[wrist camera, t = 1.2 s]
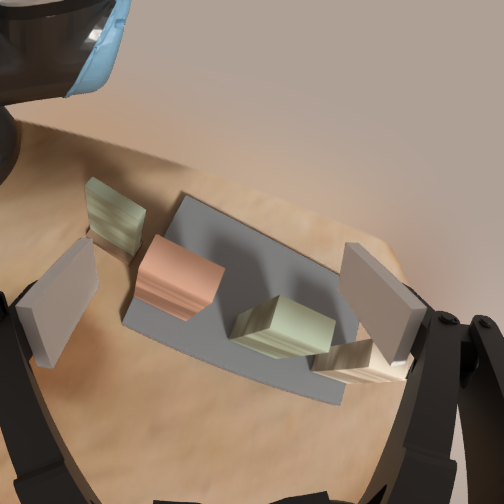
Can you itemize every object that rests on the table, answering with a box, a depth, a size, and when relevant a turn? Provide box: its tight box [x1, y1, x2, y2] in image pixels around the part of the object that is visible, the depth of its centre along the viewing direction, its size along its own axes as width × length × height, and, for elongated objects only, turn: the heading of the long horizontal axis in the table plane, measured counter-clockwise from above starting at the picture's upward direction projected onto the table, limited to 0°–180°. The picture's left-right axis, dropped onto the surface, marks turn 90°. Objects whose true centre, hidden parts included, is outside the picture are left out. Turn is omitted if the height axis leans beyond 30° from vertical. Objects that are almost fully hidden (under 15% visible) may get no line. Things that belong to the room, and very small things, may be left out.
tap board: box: [122, 195, 359, 405], centre depth 37 cm, size 17×28×2 cm, turn 71°
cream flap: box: [311, 339, 410, 384], centre depth 32 cm, size 3×6×10 cm, turn 71°
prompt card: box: [85, 176, 146, 266], centre depth 29 cm, size 6×3×10 cm, turn 66°
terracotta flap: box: [134, 234, 225, 321], centre depth 27 cm, size 3×6×10 cm, turn 71°
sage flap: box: [229, 295, 336, 359], centre depth 30 cm, size 3×6×10 cm, turn 71°
